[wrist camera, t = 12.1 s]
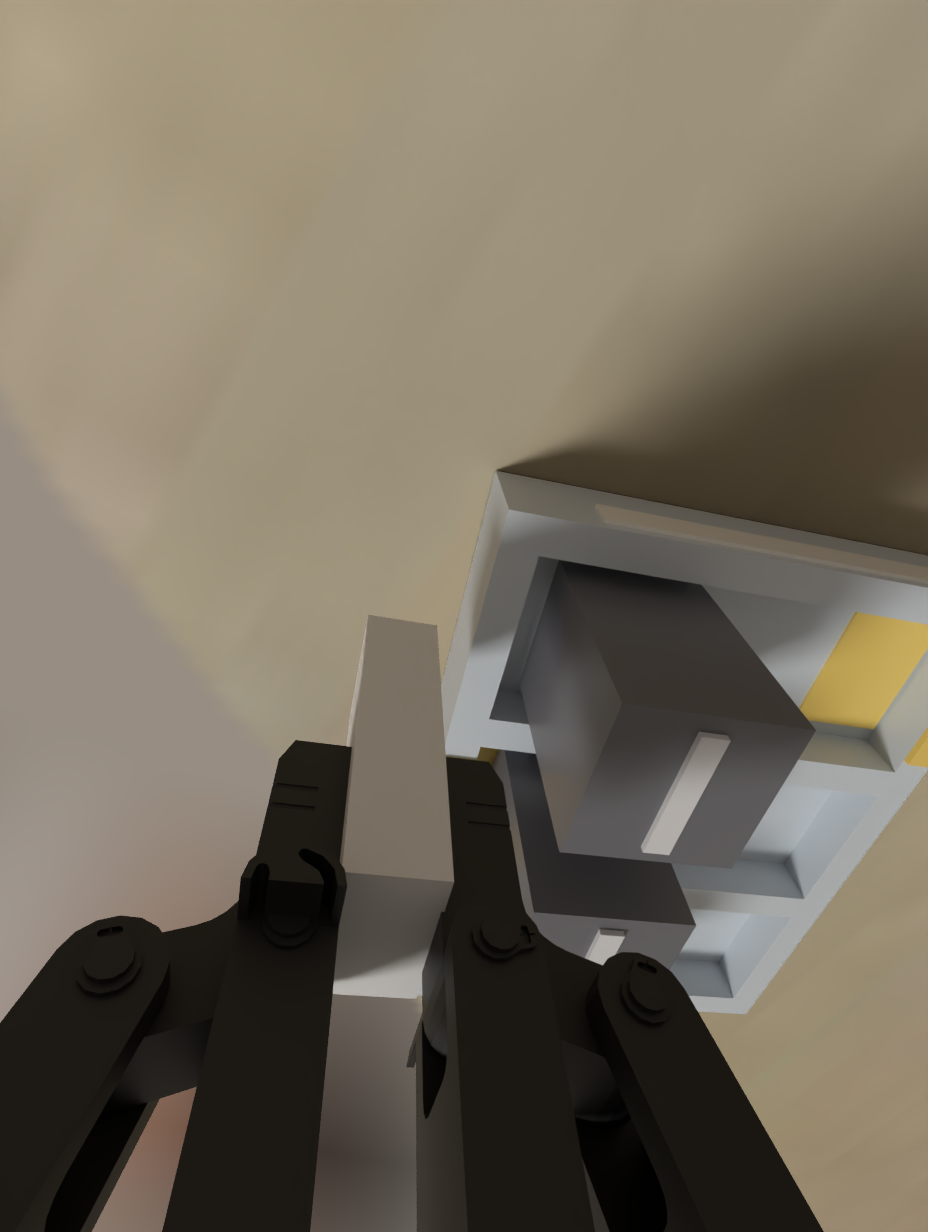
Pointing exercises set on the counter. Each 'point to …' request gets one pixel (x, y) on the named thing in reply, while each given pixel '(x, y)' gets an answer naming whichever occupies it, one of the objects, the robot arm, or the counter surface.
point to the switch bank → (783, 640)
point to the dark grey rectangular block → (653, 720)
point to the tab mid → (588, 882)
